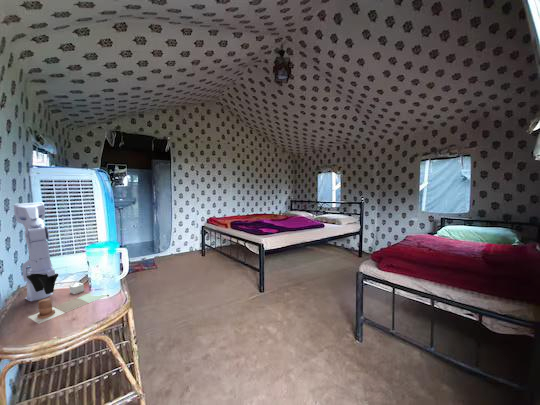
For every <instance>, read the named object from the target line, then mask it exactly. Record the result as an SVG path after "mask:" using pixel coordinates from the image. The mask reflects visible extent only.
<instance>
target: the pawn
mask: <svg viewBox="0 0 540 405" xmlns="http://www.w3.org/2000/svg"><path fill="white" fill-rule="evenodd" d="M52 304H53V303H52V298H49V297H46V298H44V299H40V300H38V303H37V306H38V313H39V314H38V315H37V317H38V318H39V319H43V318H47V317H50V316H52V315H53V314H55V310H52V307H53V305H52Z"/></svg>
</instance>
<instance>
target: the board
mask: <svg viewBox="0 0 540 405" xmlns="http://www.w3.org/2000/svg"><path fill="white" fill-rule="evenodd" d="M106 294H107V295H101V296H91V292H89V293H86V294H83V295H81V296H79V297H78V296H77V297H76V298H73V299H71V300H68V301H65V302H63V303H59V304H57V305H55V306H52V310H55V314H53V315H52V316H50V317H47V318H43V319H39V318H38V317H37V315H38V314H39V312H37V313H35V314H31V315H29V316H27V318H28V319H30V320H32V321H33V322H35V323H36V324H38V325H39V324H42V323H45V322H47V321H49V320H51V319H54V318H57V317H59V316H61V315H63V314H66V313H69V312H71V311H73V310H76V309H79V308H80V307H81V308H82V306H86V305H88V304H89V303H93V302H94V301H97V300H100V299H102V298H104V297H109V296H110V294H108V293H106Z"/></svg>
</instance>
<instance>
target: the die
mask: <svg viewBox="0 0 540 405" xmlns="http://www.w3.org/2000/svg"><path fill="white" fill-rule="evenodd" d="M69 292H70V294H72V295H77V294H80V293H82V292H85V285H84V283H81V282H77V283H74V284H71V285H69Z"/></svg>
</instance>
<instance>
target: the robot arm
mask: <svg viewBox="0 0 540 405" xmlns="http://www.w3.org/2000/svg"><path fill="white" fill-rule="evenodd" d="M45 207H46V206H45V203H44V202H43V201H38V202H26V203H24V202H22V203H14V204H13V212H14V217H15V221H16V223H18V224H22V225H23V227H24V236H25V237H24V238H25V243H26V245H27V249H28V255H29V256H28V257H29V259H27V260H26V261H25V262H23V264H22V270H21V271H22V276H23V281H24V282H27V283H26V293H27V296H26V297H25V300H27V301H29V302H33V301H40V300H43V299H47V298H49V297H50V296H52V295H53V294H54V291H55V285H56V281H57V279H58V277H59V273H56V272H55V271H56V270H55V269H54V268H53V264H52V260H51V255H50V247H49V240H50V233H49V229H48V227H47V226H46V225H45V223H44V219H45V217H46V216H45V215H46V209H45Z"/></svg>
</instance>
